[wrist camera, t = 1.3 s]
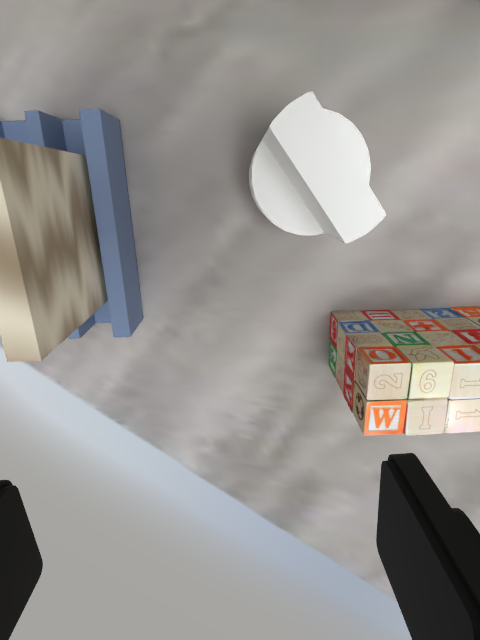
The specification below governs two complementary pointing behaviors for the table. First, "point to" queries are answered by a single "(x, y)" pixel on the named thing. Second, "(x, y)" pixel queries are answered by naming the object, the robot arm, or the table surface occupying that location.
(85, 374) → the table surface
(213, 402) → the table surface
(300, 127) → the base with upright slab
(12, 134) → the rack
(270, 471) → the table surface
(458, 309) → the stack of blocks
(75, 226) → the birch sheet
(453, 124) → the table surface
